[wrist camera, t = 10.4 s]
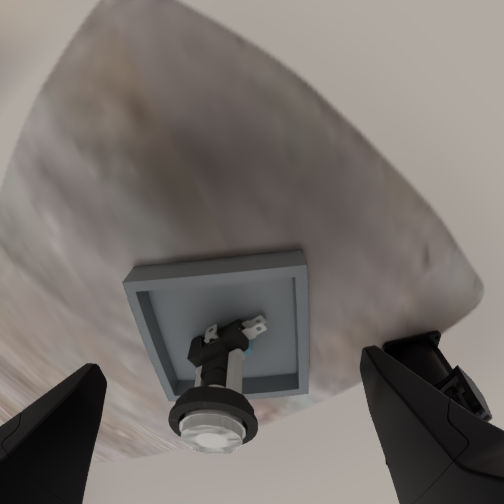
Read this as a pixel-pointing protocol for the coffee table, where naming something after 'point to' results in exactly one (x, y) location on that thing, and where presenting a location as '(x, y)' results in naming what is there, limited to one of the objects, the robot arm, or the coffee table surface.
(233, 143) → the coffee table surface
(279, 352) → the charcoal tray
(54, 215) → the coffee table surface
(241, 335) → the push button
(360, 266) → the coffee table surface
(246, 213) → the coffee table surface
